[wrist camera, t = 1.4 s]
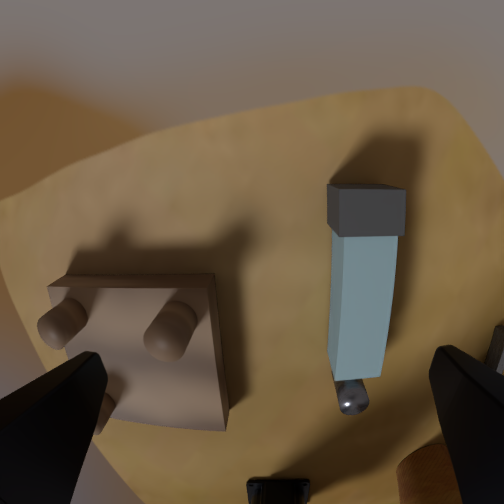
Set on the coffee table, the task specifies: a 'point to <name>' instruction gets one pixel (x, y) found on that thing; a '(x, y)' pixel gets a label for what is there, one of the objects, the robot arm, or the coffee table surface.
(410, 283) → the coffee table surface
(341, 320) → the hinged leg
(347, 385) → the pivot pin
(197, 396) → the stool seat
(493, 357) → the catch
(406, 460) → the disposable coffee cup
